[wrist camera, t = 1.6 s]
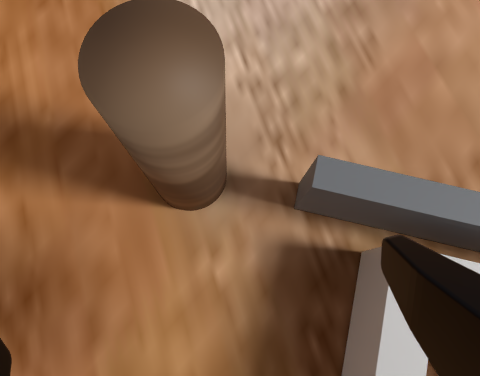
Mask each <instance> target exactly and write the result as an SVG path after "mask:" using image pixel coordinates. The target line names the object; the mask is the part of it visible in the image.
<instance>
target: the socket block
mask: <svg viewBox="0 0 480 376" xmlns="http://www.w3.org/2000/svg"><path fill="white" fill-rule="evenodd" d="M381 249H382V247H378V248H375V249H371V250H367V251H363V252H362V253H361V259H360V265H359V271H358V277H357V283H356V290H355V296H354V302H353V308H352V314H351V321H350V327H349V333H348V339H347V345H346V351H345V358H344V364H343V370H342V376H426V372H427V364H428V358H427V356H426V355H425V353H424V352H423V350H422V348H421V347H420V345H419V343H418V342H417V340H416V339H415V337H414V335H413V334H412V332H411V330H410V328H409V326H408V324H407V322H406V320H405V318H404V316H403V314H402V312H401V310H400V308H399V306H398V304H397V302H396V300H395V298H394V295H393V293H392V291H391V289H390V287H389V285H388V283H387V281H386V279H385V277H384V275H383V272H382V269H381ZM441 255H442V254H441ZM443 256H445V257H447V258H449V259H451V260H453V261H455V262H457V263H459V264H461V265H463V266H465V267H467V268H469V269H471V270H473V271H475V272H477V273H479V274H480V263H476V262H472V261H468V260H463V259H459V258H455V257H451V256H446V255H443Z"/></svg>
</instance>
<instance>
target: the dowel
mask: <svg viewBox="0 0 480 376" xmlns="http://www.w3.org/2000/svg"><path fill="white" fill-rule="evenodd" d="M78 72H79V78H80V81H81V85H82V87H83V89H84V91H85V93H86V95H87V97H88V98H89V100H90V101H91V103H92V104H93V105H94V107H95V108H96V109H97V111H98V112H99V113H100V115H101V116H102V117H103V119H104V120H105V121H106V123H107V124H108V125H109V127H110V128H111V130H112V131H113V132H114V134H115V135H116V136H117V138H118V139H119V140H120V142H121V143H122V144H123V146H124V147H125V148H126V150H127V151H128V152H129V154H130V155H131V156H132V158H133V159H134V161H135V162H136V163H137V165H138V166H139V167H140V169H141V170H142V171H143V173H144V174H145V175H146V177H147V178H148V179H149V181H150V182H151V183H152V185H153V186H154V187H155V189H156V190H157V192H158V193H159V194H160V196H161V197H162V198H163V199H164V200H165V201H166V202H167V203H168V204H170V205H171V206H173V207H175V208H178V209H181V210H189V211H192V210H198V209H202V208H205V207H207V206H209V205H210V204H212V203H213V202H214V201H215V200H216V199H217V198H218V197H219V196H220V194H221V193H222V191H223V189H224V187H225V184H226V176H227V171H226V108H225V57H224V49H223V45H222V42H221V39H220V37H219V34H218V33H217V31H216V29H215V27H214V26H213V25H212V24H211V22H210V21H209V20H208V19H207V18H206V17H205V16H204V15H203V14H202V13H200V12H199V11H197V10H196V9H194V8H193V7H191V6H189V5H187V4H185V3H182V2H180V1H176V0H131V1H128V2H125V3H122V4H120V5H118V6H116V7H114V8H112V9H111V10H109V11H108V12H106V13H105V14H104V15H102V16H101V17H100V18H99V19H98V20H97V21H96V22H95V23H94V24H93V26H92V27H91V28H90V29H89V31H88V33H87V34H86V36H85V38H84V40H83V43H82V45H81V49H80V52H79V59H78Z"/></svg>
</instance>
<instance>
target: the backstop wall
mask: <svg viewBox="0 0 480 376" xmlns="http://www.w3.org/2000/svg"><path fill="white" fill-rule="evenodd" d="M294 209H299V210H303V211H307V212H311V213H316V214H320V215H324V216H328V217H333V218H337V219H341V220H345V221H350V222H354V223H358V224H362V225H367V226H371V227H375V228H380V229H384V230H388V231H392V232H397V233H401V234H405V235H409V236H414V237H418V238H422V239H426V240H431V241H435V242H439V243H443V244H448V245H452V246H456V247H460V248H465V249H469V250H473V251H478V252H480V192H477V191H473V190H468V189H464V188H460V187H455V186H451V185H447V184H442V183H438V182H434V181H429V180H425V179H421V178H416V177H412V176H408V175H403V174H399V173H395V172H390V171H386V170H382V169H377V168H373V167H369V166H364V165H360V164H356V163H351V162H347V161H343V160H338V159H334V158H330V157H325V156H321V155H318V156H317V158H316V159H315V161H314V162H313V164H312V165H311V167H310V168H309V169H308V171H307V172H306V174H305V175H304V177H303V178H302V180H301V181H300V183H299V187H298V192H297V197H296V202H295V206H294Z"/></svg>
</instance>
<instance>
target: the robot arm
mask: <svg viewBox="0 0 480 376" xmlns="http://www.w3.org/2000/svg"><path fill="white" fill-rule="evenodd" d="M381 269H382V272H383V275H384V277H385V279H386V281H387V283H388V285H389V287H390V289H391V291H392V293H393V295H394V298H395V300H396V302H397V304H398V306H399V308H400V310H401V312H402V314H403V316H404V318H405V320H406V322H407V324H408V326H409V328H410V330H411V332H412V334H413V335H414V337H415V339H416V340H417V342H418V343H419V345H420V347H421V348H422V350H423V352H424V353H425V355H426V356H427V358H428V360H429V361H430V363H431V364H432V366H433V368H434V369H435V371H436V372H437V374H438V376H480V274H479V273H477V272H475V271H473V270H471V269H469V268H467V267H465V266H463V265H461V264H459V263H457V262H455V261H453V260H451V259H449V258H447V257H445V256H443V255H441V254H439V253H437V252H435V251H433V250H431V249H429V248H427V247H425V246H423V245H421V244H419V243H417V242H415V241H413V240H411V239H409V238H407V237H405V236H402V235H395V236H390V237H386V238H384V239H383V241H382V249H381ZM11 363H12V359H11V354H10V352H9V350H8V348H7V347H6V346H5V344H4V343H3V341H2V340H1V338H0V376H10V372H11Z"/></svg>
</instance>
